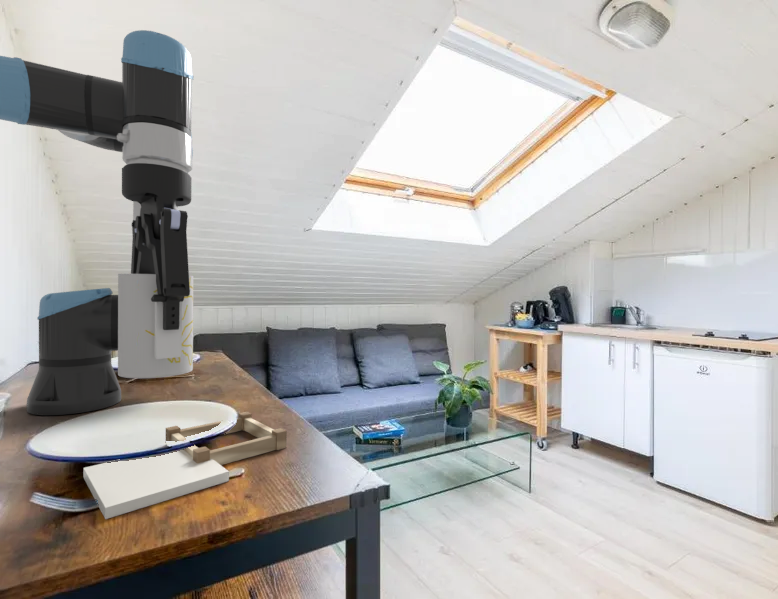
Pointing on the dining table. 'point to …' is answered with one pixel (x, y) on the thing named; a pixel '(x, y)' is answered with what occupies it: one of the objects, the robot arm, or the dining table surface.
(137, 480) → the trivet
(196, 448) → the square wooden frame
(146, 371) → the cup
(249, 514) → the dining table surface
